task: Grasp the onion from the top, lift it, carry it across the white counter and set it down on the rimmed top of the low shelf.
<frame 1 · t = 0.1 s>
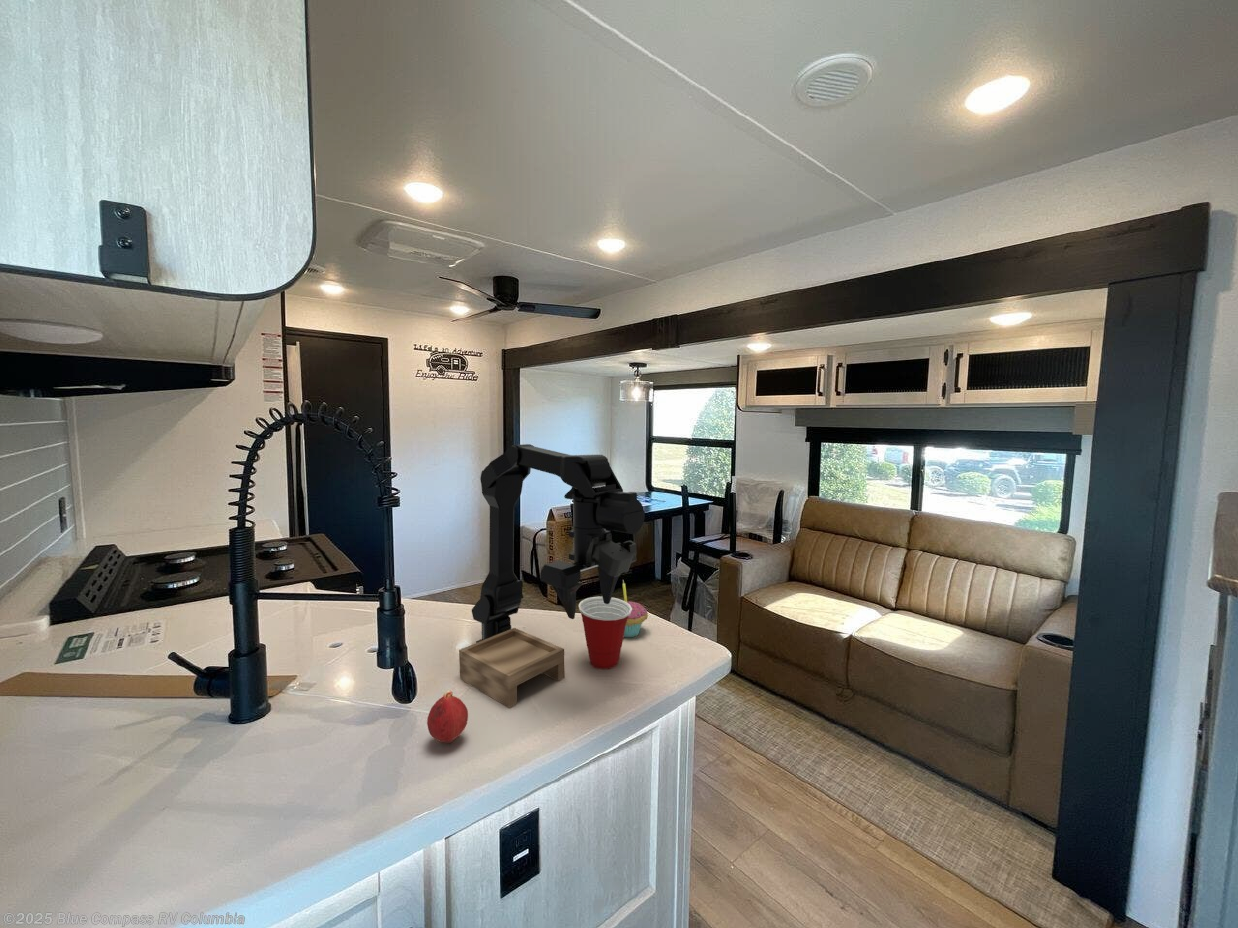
hand: (589, 610, 89), 15 cm above the worktop, tool pointing down, fingers open, 9 cm apart
plastic cup: (605, 663, 100), on the worktop
cupcake: (629, 633, 114), on the worktop
shelf: (512, 678, 93), on the worktop
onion: (448, 743, 75), on the worktop
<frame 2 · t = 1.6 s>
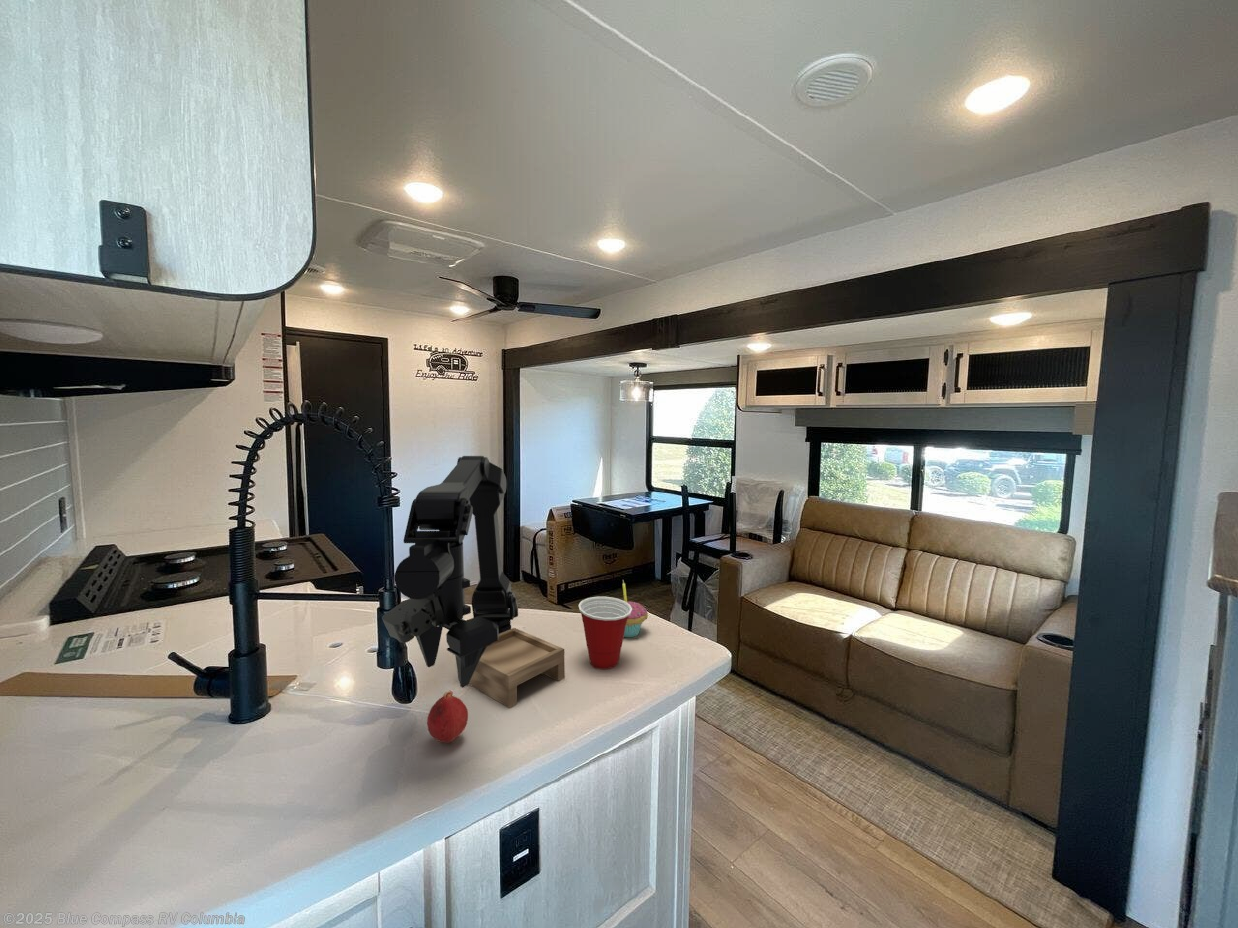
hand: (446, 675, 74), 10 cm above the worktop, tool pointing down, fingers open, 9 cm apart
nothing on the worktop moved.
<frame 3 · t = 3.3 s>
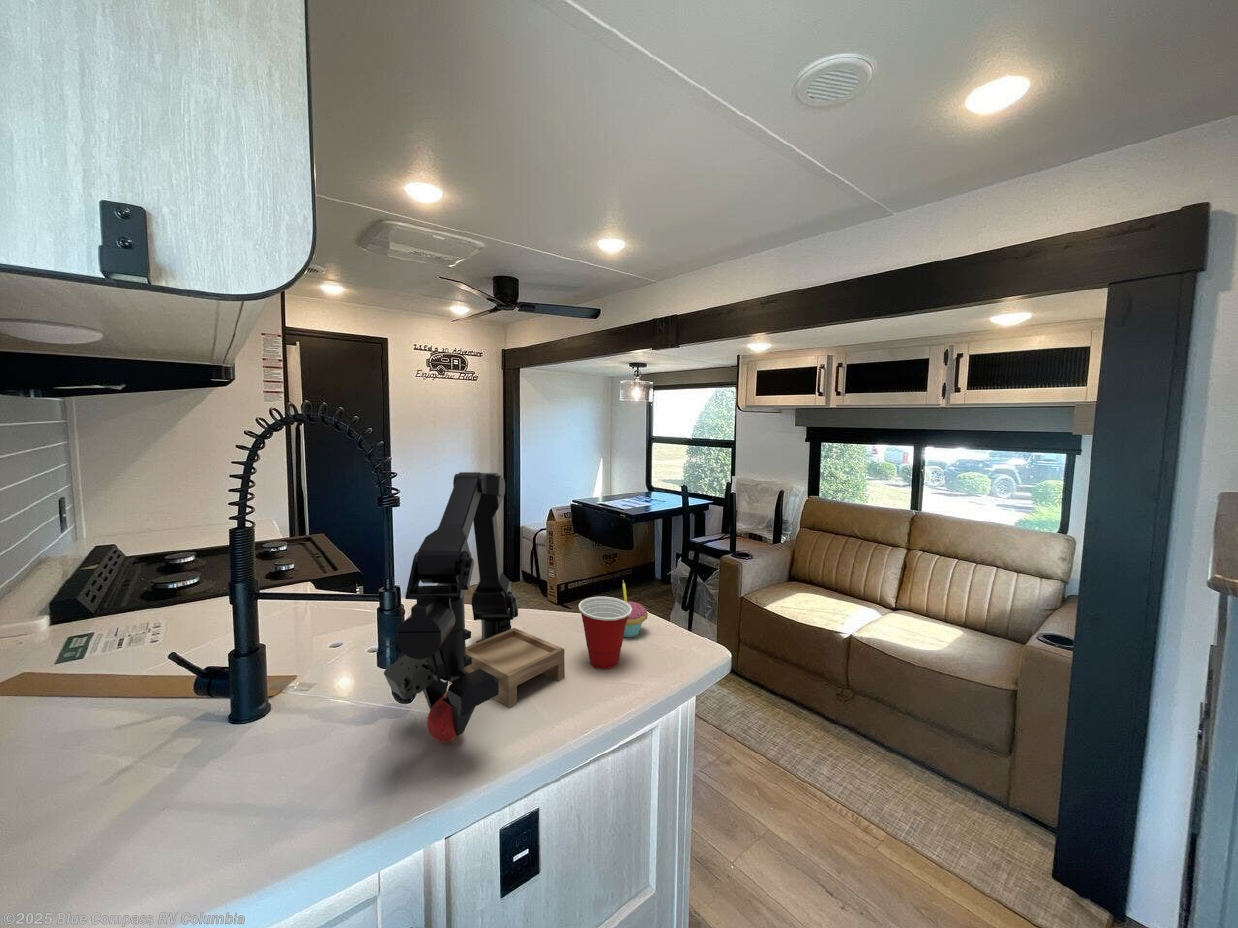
hand: (448, 725, 75), 3 cm above the worktop, tool pointing down, fingers closed on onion, 6 cm apart
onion: (448, 743, 75), on the worktop, touching gripper
everything else where it was.
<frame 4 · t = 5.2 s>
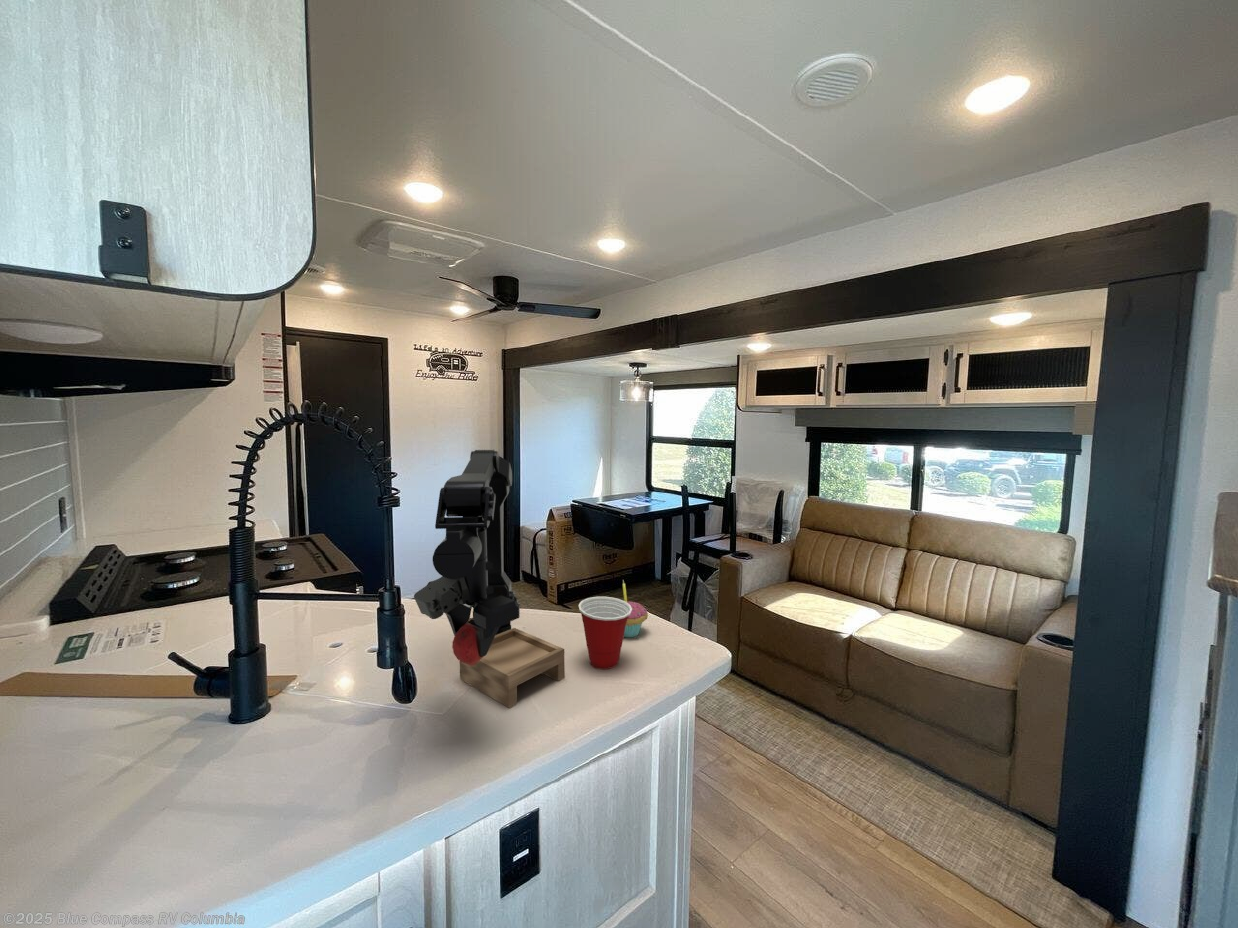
hand: (471, 649, 81), 11 cm above the worktop, tool pointing down, fingers closed on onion, 6 cm apart
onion: (471, 666, 81), point 9 cm above the worktop, touching gripper
everything else where it was.
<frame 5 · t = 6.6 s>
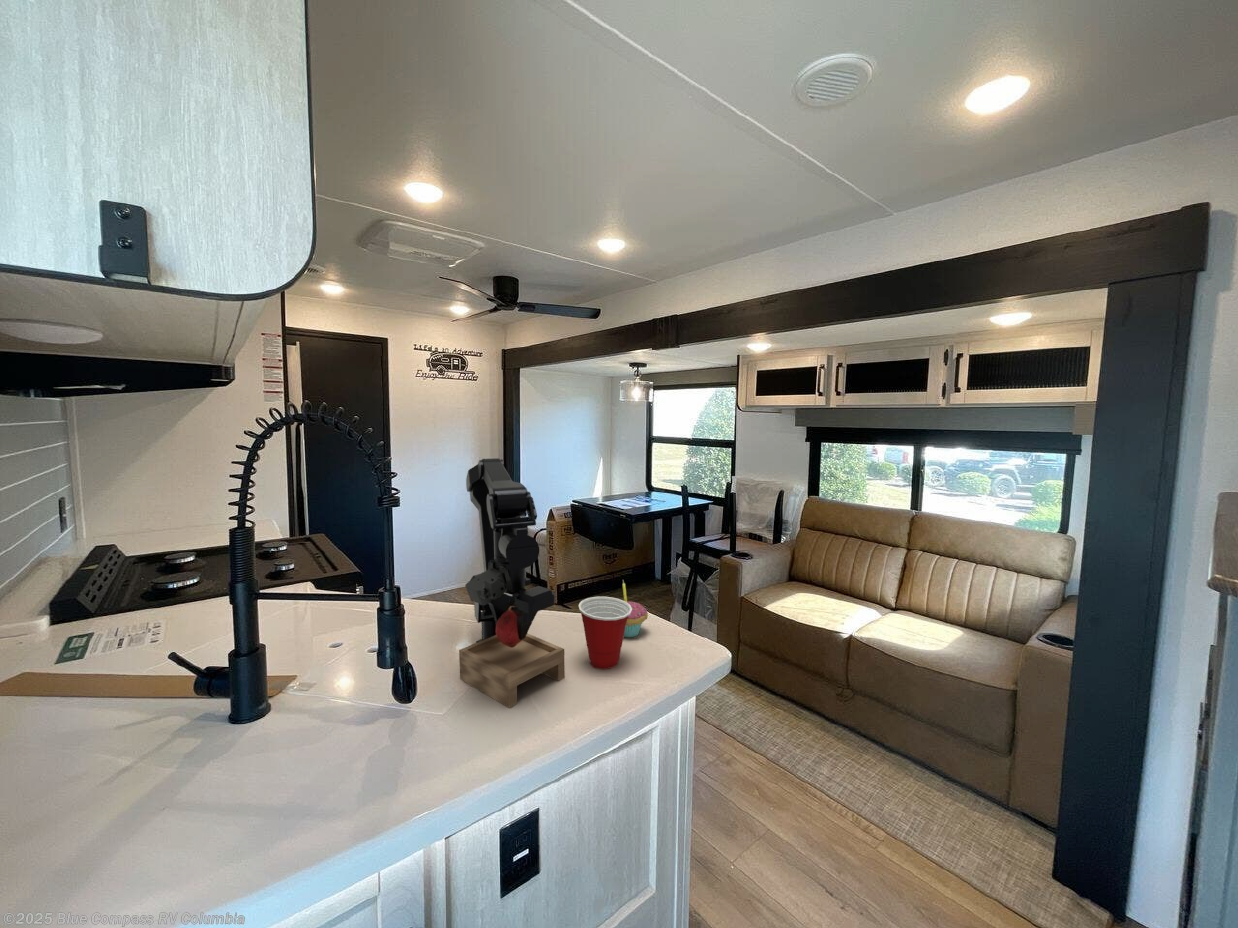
hand: (511, 634, 93), 9 cm above the worktop, tool pointing down, fingers closed on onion, 6 cm apart
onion: (511, 648, 93), point 6 cm above the worktop, touching gripper
everything else where it was.
when the fingers open (8 cm above the worktop, at t = 7.4 s): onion drops 1 cm, resting on shelf.
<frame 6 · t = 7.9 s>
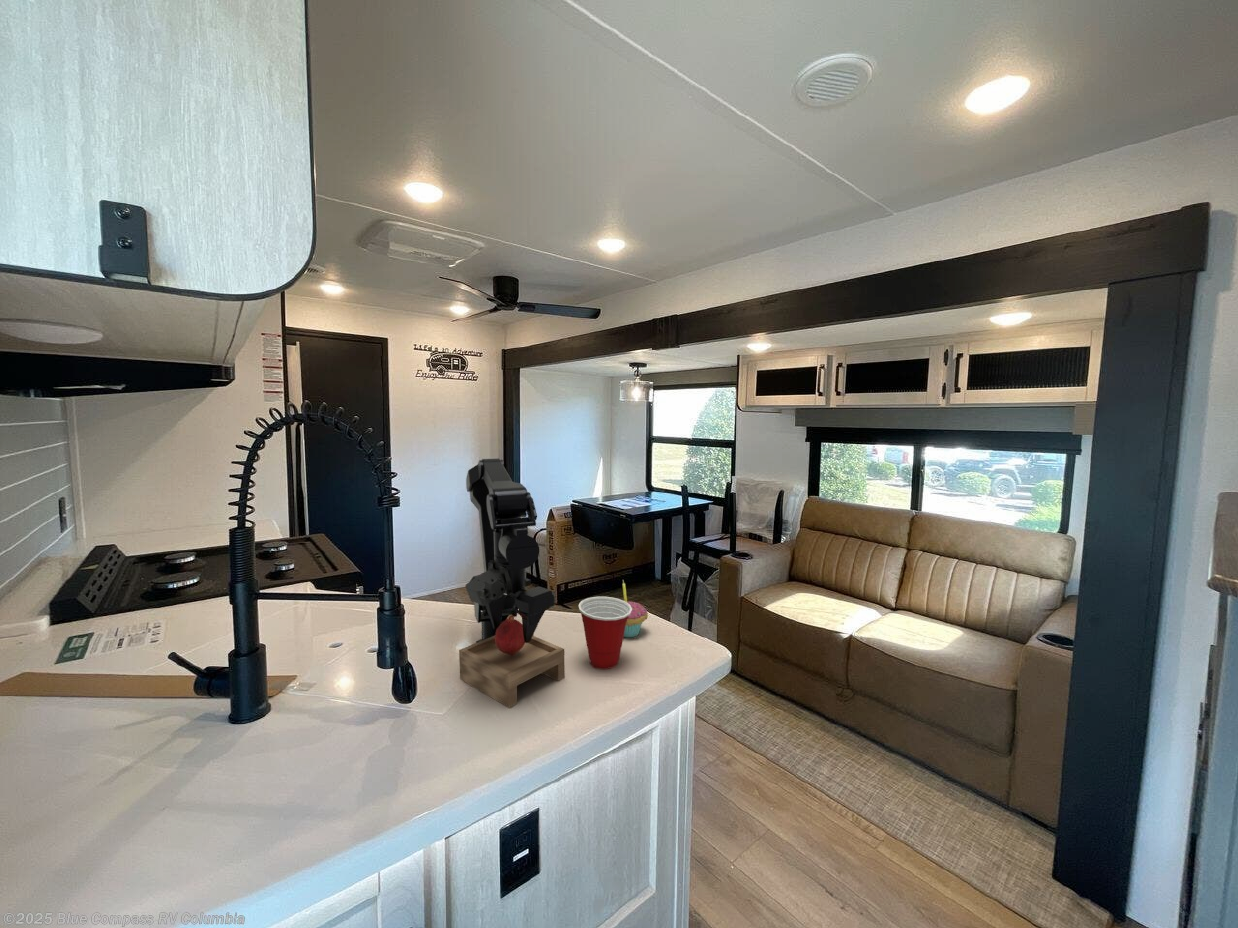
hand: (511, 635, 93), 8 cm above the worktop, tool pointing down, fingers open, 9 cm apart
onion: (512, 655, 93), point 4 cm above the worktop, touching shelf
everything else where it was.
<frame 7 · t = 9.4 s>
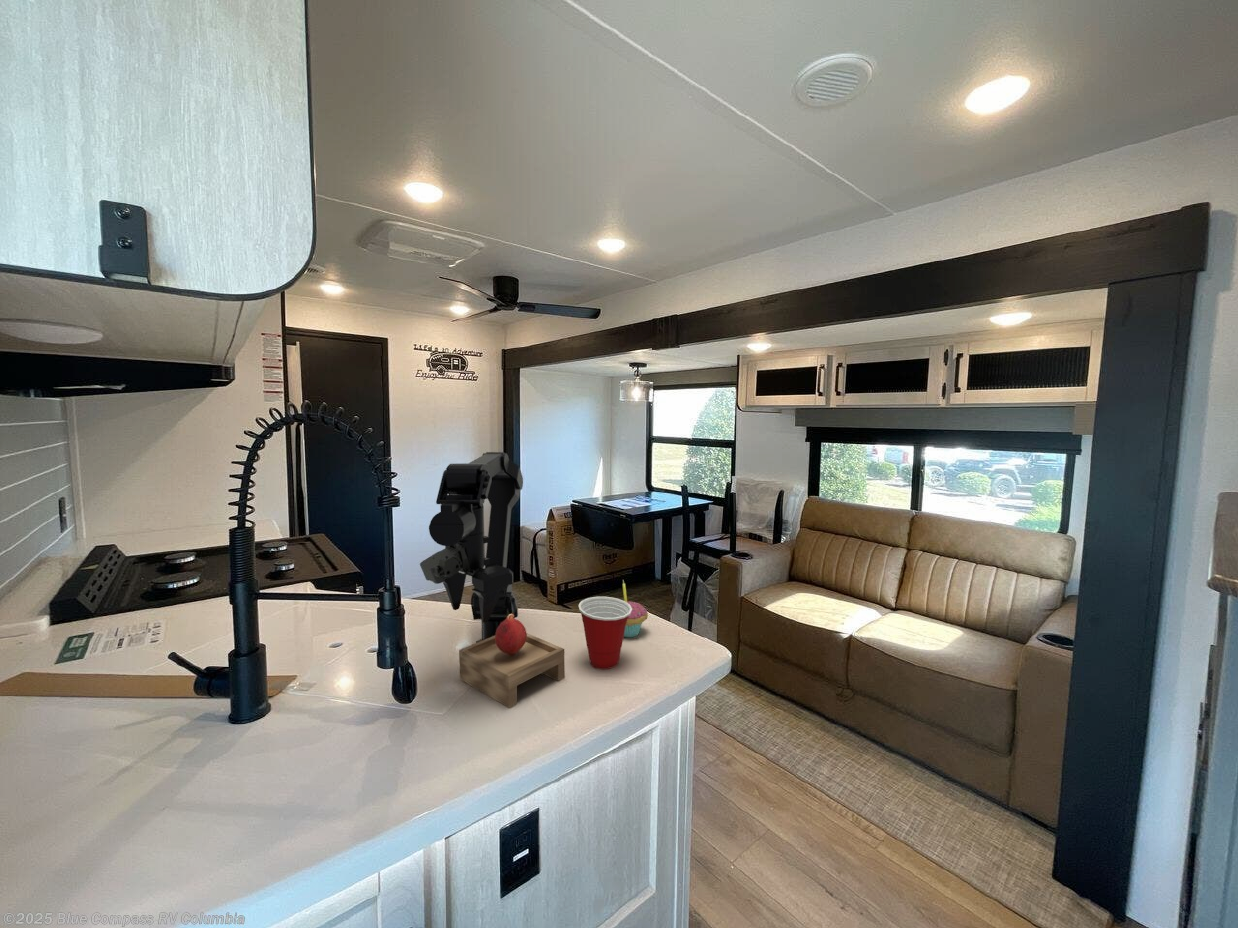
hand: (470, 615, 91), 13 cm above the worktop, tool pointing down, fingers open, 9 cm apart
nothing on the worktop moved.
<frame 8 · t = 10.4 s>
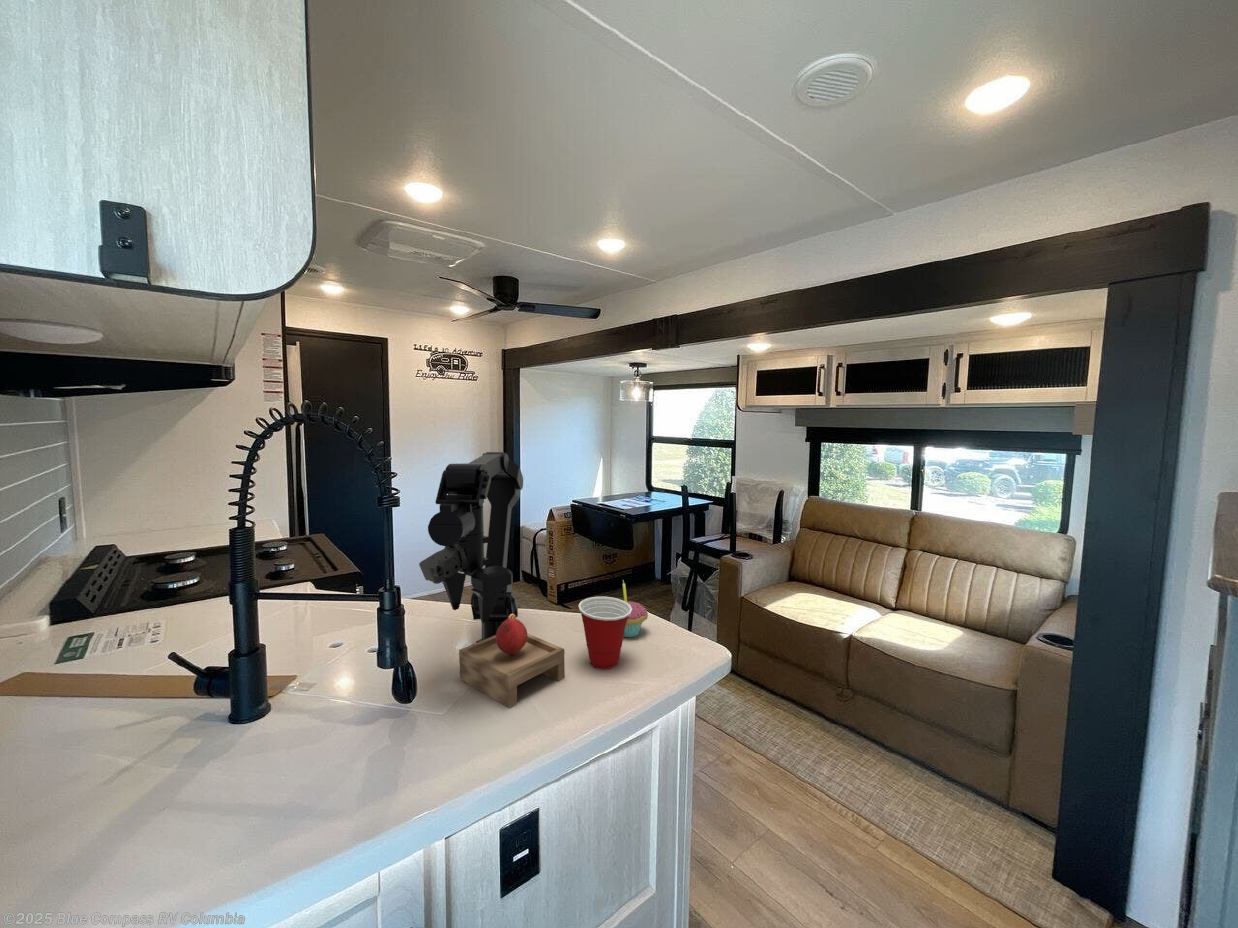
hand: (469, 615, 91), 13 cm above the worktop, tool pointing down, fingers open, 9 cm apart
nothing on the worktop moved.
at the end: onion inside the target area on the shelf (0.0 cm from its centre), point 4.3 cm above the shelf's base; the gripper is holding nothing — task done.
